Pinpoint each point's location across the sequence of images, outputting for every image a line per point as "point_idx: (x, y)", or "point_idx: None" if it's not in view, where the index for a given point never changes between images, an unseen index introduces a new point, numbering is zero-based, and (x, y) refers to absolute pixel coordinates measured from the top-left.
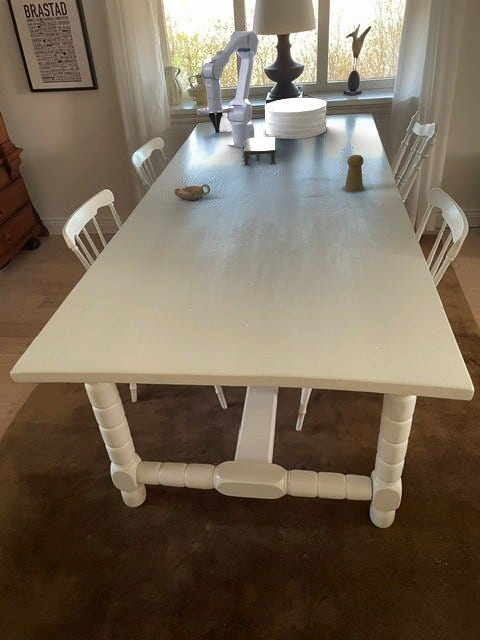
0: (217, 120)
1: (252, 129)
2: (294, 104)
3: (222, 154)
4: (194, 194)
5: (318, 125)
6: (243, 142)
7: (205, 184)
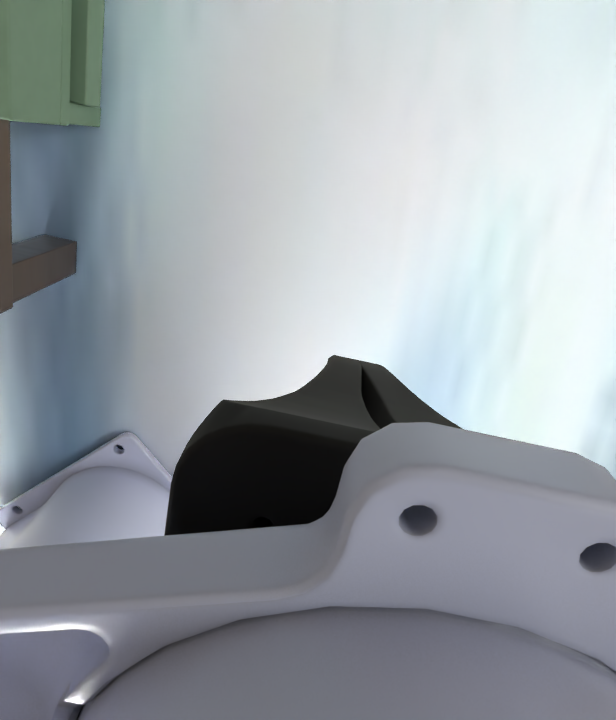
0: (343, 412)
1: None
2: None
3: (314, 311)
4: None
5: None
6: (5, 85)
7: None
